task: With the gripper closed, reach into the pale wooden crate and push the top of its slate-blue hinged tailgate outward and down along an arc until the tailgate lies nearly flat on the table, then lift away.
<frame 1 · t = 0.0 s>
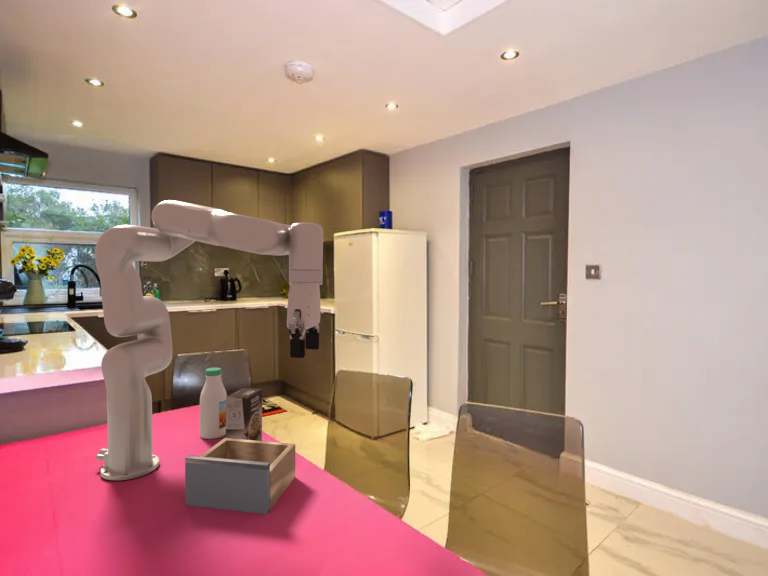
hand: (305, 353, 98), 31 cm above the table, tool pointing down, fingers open, 9 cm apart
tailgate: (227, 485, 89), point 6 cm above the table, hinge at 0.0°
crate: (245, 492, 97), on the table
coffee box: (244, 450, 119), on the table
milk bottle: (213, 435, 129), on the table
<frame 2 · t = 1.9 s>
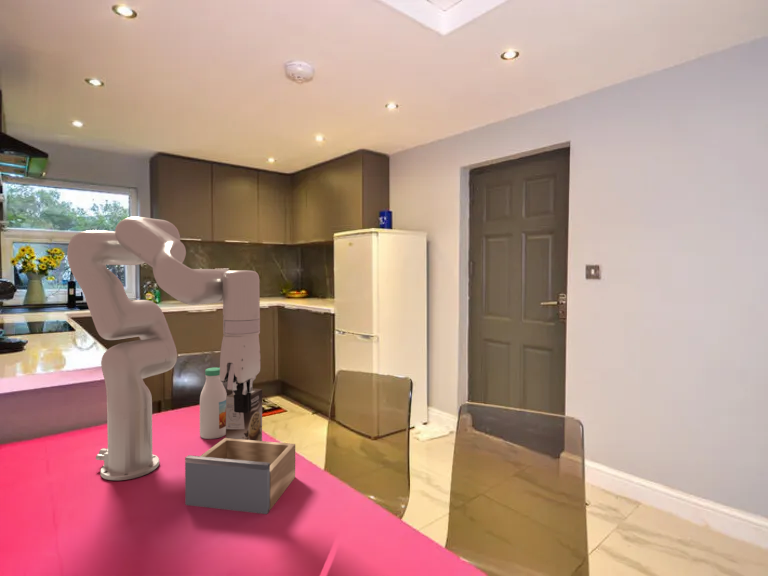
hand: (242, 411, 94), 19 cm above the table, tool pointing down, fingers closed
nothing on the table moved.
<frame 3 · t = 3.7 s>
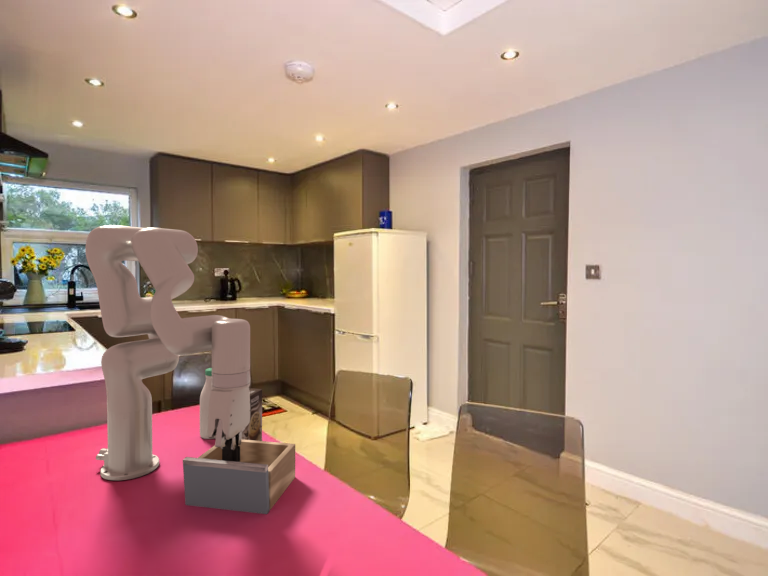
hand: (231, 465, 90), 9 cm above the table, tool pointing down, fingers closed
tailgate: (226, 486, 88), point 6 cm above the table, hinge at 5.0°, touching gripper
everything else where it was.
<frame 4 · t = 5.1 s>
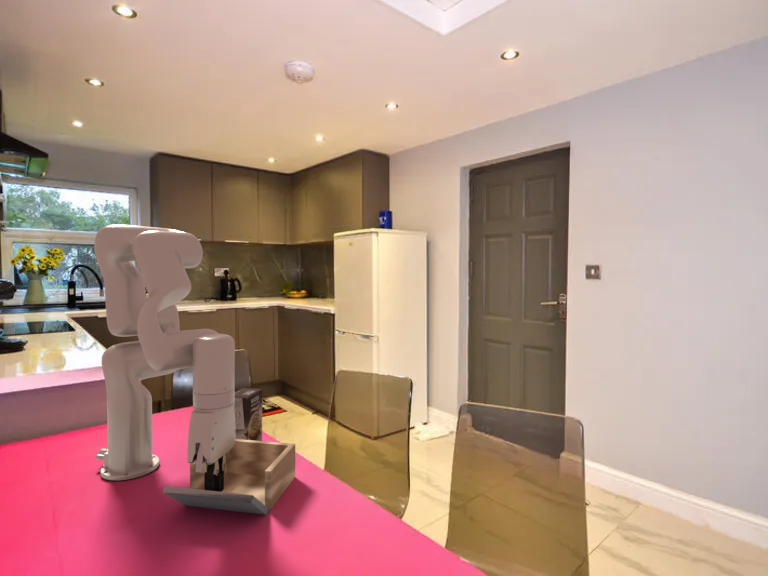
hand: (214, 491, 84), 7 cm above the table, tool pointing down, fingers closed
tailgate: (218, 501, 85), point 4 cm above the table, hinge at 47.1°, touching gripper
everything else where it was.
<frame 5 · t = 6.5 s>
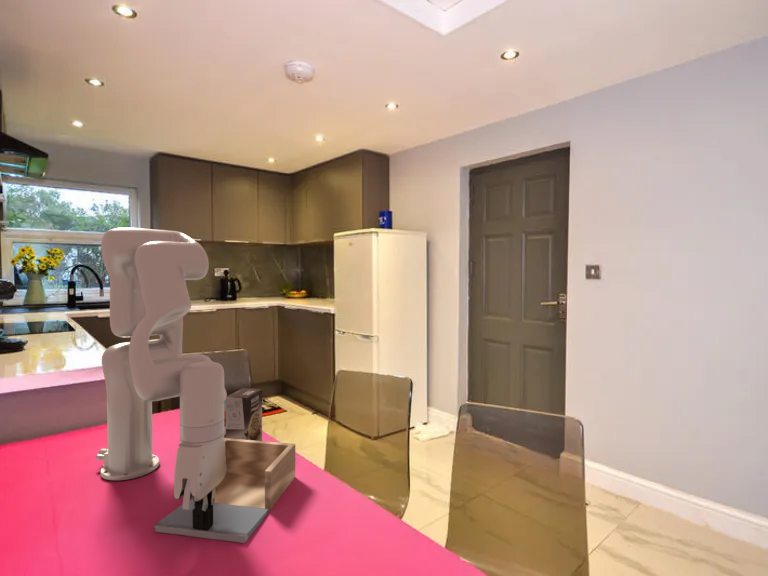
hand: (203, 527, 80), 2 cm above the table, tool pointing down, fingers closed
tailgate: (214, 519, 84), point 1 cm above the table, hinge at 86.2°, touching gripper
everything else where it was.
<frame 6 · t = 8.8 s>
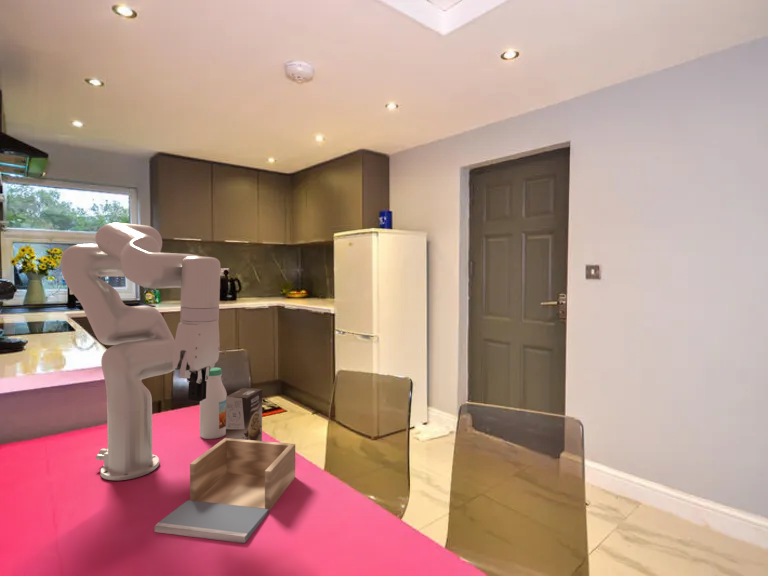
hand: (197, 399, 93), 22 cm above the table, tool pointing down, fingers closed
tailgate: (214, 519, 84), point 1 cm above the table, hinge at 86.5°
everything else where it was.
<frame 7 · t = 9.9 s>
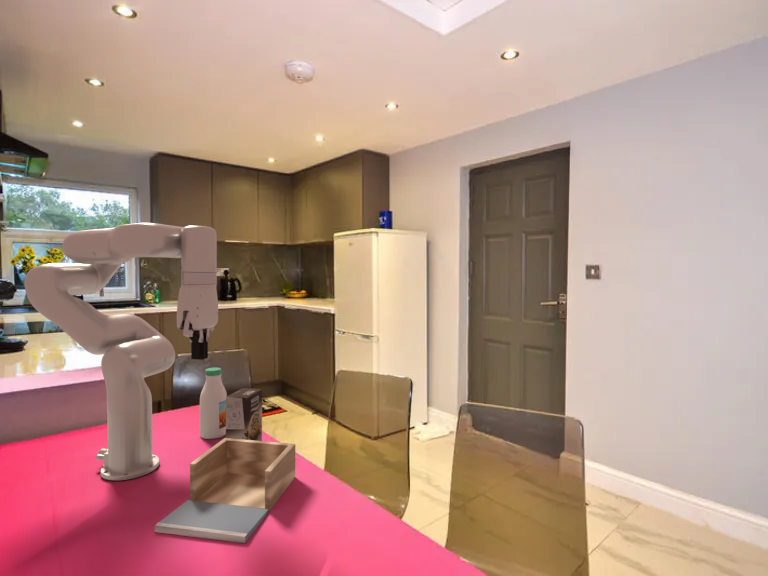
hand: (199, 358, 100), 29 cm above the table, tool pointing down, fingers closed
nothing on the table moved.
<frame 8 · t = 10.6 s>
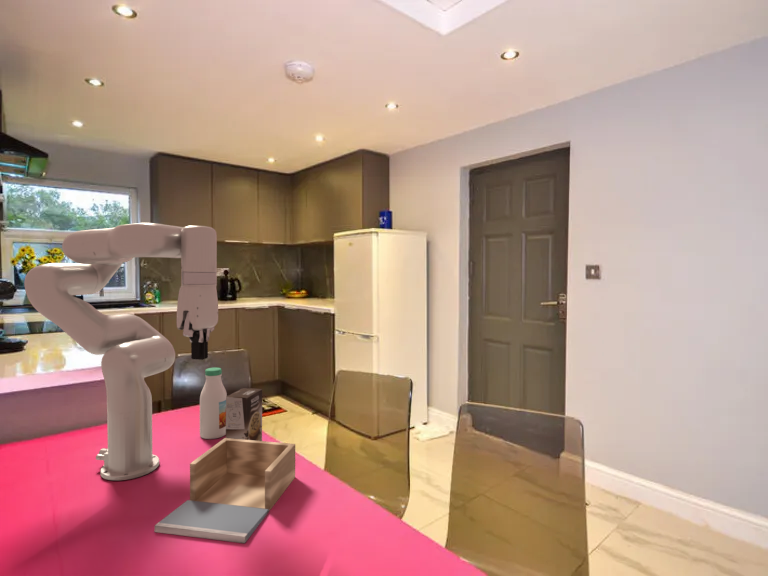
hand: (199, 358, 100), 29 cm above the table, tool pointing down, fingers closed
nothing on the table moved.
at the end: tailgate at +86° (first picture: +0°) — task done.
